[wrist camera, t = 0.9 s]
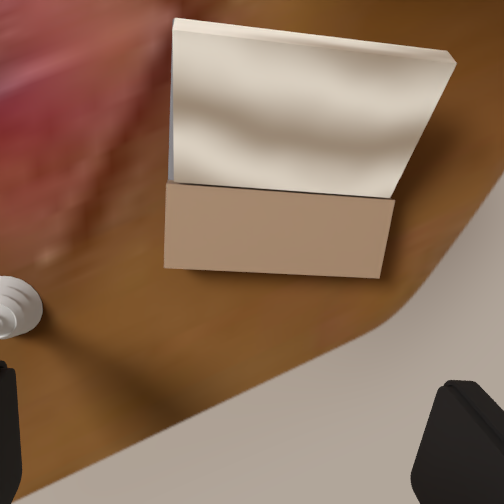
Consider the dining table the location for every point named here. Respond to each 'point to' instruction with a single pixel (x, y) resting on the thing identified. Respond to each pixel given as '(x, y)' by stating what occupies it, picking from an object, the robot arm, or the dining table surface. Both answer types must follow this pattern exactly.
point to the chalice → (18, 307)
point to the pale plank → (298, 108)
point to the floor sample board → (272, 228)
